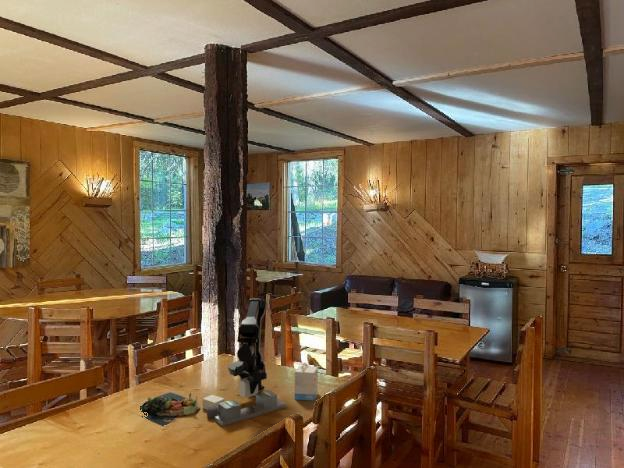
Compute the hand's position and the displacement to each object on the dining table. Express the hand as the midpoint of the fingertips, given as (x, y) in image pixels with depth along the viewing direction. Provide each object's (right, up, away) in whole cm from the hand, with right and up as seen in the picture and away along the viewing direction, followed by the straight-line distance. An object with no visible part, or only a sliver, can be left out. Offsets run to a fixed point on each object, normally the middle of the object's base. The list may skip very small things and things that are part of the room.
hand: (248, 391), depth 185 cm
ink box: (+23, -4, +6) cm, 25 cm away
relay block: (-13, -4, -7) cm, 15 cm away
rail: (+3, -4, -11) cm, 13 cm away
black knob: (-12, -4, -14) cm, 19 cm away
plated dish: (-30, -5, -7) cm, 31 cm away
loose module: (0, -1, 0) cm, 1 cm away
